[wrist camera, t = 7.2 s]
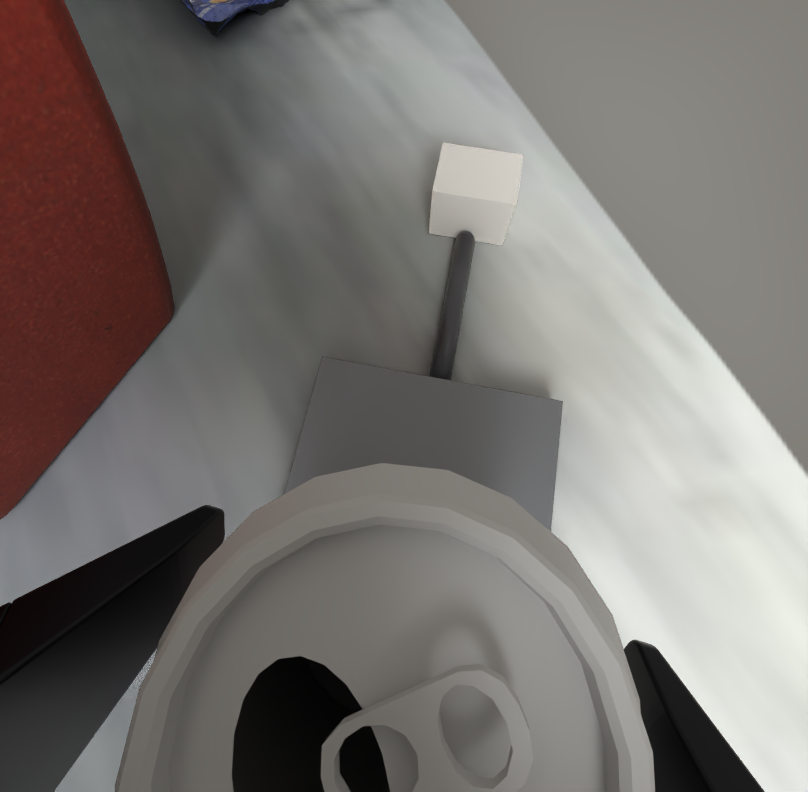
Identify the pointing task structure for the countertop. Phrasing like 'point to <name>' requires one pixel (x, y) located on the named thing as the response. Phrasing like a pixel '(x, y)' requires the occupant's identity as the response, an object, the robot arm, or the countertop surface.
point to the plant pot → (64, 244)
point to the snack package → (226, 10)
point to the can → (389, 653)
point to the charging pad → (441, 372)
